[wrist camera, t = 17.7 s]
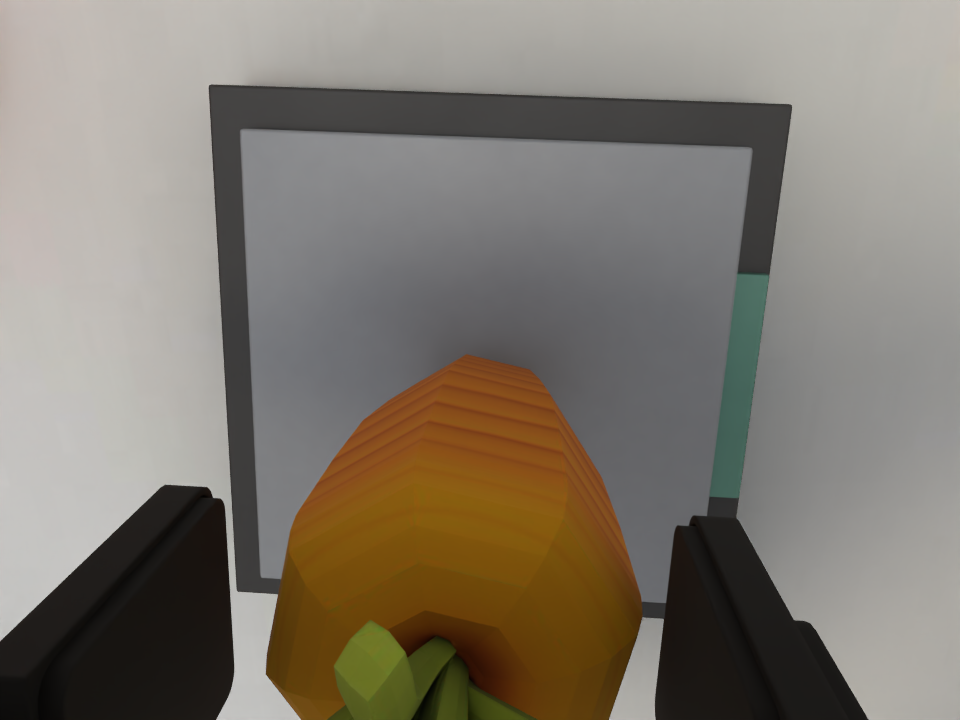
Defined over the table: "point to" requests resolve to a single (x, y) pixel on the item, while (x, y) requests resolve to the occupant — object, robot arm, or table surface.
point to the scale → (494, 284)
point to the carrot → (457, 564)
